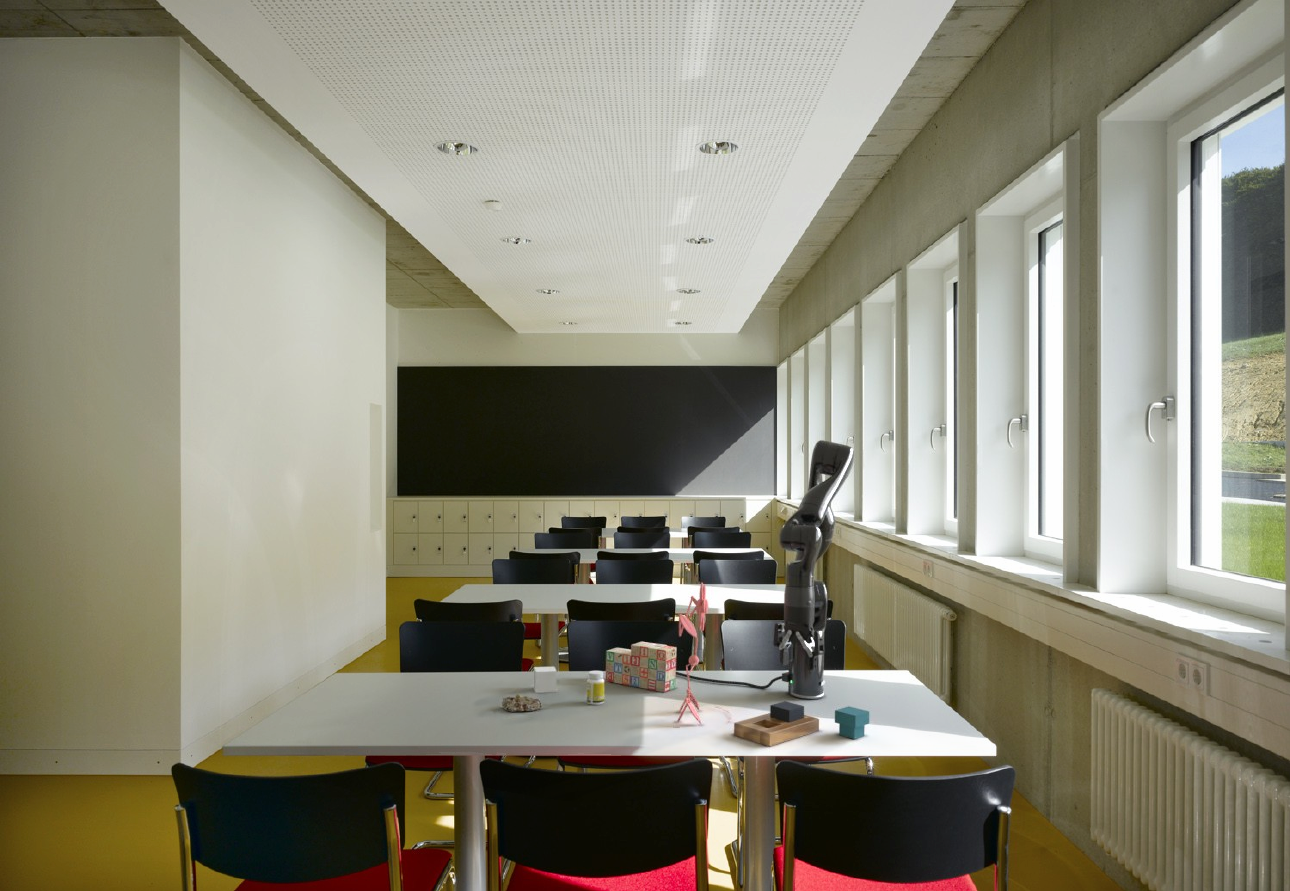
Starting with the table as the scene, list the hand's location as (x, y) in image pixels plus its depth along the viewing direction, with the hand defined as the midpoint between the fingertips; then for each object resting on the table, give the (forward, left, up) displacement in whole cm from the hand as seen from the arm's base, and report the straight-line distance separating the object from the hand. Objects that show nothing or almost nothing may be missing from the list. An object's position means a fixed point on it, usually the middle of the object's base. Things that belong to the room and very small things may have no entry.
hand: (798, 668), depth 217 cm
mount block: (-2, -6, -16) cm, 17 cm away
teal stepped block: (+11, +7, -16) cm, 21 cm away
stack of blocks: (-58, -1, -16) cm, 60 cm away
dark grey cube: (-2, -2, -16) cm, 16 cm away
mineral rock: (-59, -43, -16) cm, 74 cm away
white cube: (-71, -26, -16) cm, 77 cm away
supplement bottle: (-51, -24, -16) cm, 58 cm away
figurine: (-22, -11, -16) cm, 29 cm away
